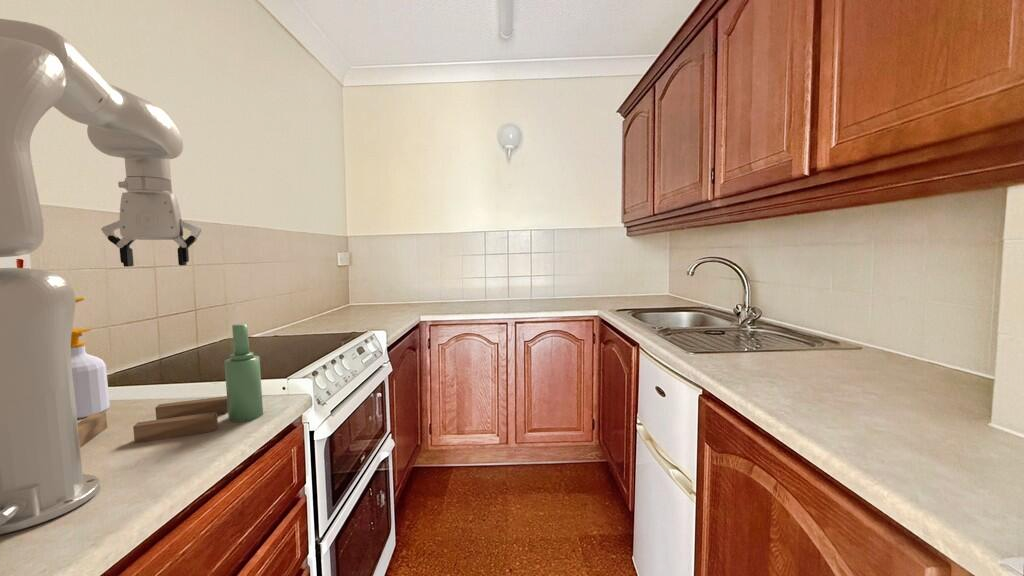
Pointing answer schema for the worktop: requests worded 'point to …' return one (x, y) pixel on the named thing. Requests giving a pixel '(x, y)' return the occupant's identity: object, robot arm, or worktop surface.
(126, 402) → the worktop surface
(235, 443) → the worktop surface
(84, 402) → the soap bottle
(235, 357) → the bottle
